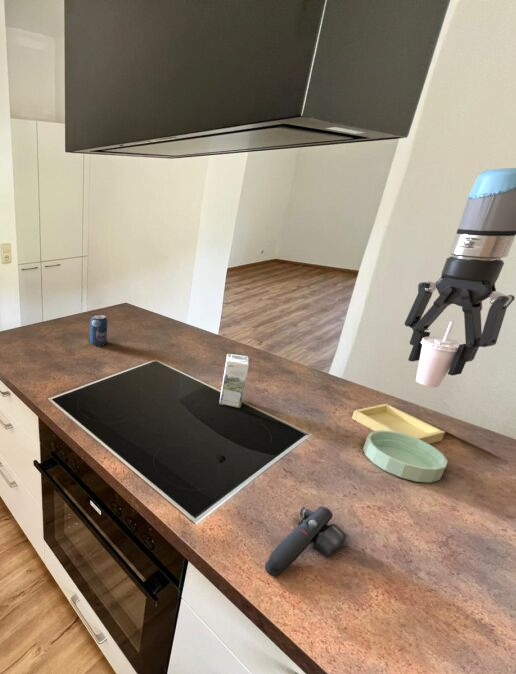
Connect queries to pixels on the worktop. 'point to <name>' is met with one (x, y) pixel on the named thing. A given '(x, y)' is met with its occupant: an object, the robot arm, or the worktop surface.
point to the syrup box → (234, 380)
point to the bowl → (405, 456)
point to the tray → (397, 423)
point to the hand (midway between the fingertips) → (433, 366)
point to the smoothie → (436, 358)
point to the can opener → (306, 540)
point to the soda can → (98, 329)
